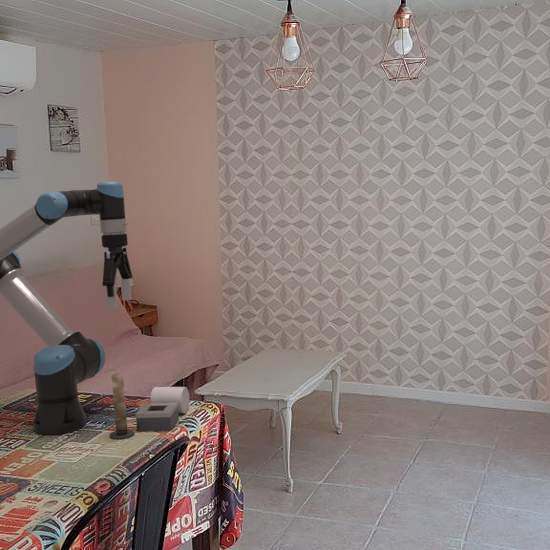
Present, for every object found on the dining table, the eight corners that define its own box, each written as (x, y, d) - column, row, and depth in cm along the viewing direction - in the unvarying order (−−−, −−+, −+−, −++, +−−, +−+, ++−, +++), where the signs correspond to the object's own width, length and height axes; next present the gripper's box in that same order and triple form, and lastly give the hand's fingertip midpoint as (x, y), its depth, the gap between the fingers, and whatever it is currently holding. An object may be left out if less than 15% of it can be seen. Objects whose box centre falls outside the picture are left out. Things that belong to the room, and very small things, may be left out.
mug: (182, 416, 227) (180, 391, 226) (150, 416, 229) (149, 391, 228) (194, 404, 239) (192, 380, 238) (164, 404, 241) (162, 380, 240)
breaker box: (136, 431, 215) (135, 413, 215) (146, 420, 225) (144, 403, 224) (171, 430, 214) (169, 413, 214) (178, 419, 224) (177, 402, 223)
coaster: (106, 439, 209) (106, 438, 209) (113, 431, 216) (113, 429, 216) (130, 439, 209) (130, 437, 209) (137, 430, 216) (137, 429, 216)
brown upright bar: (114, 435, 211) (109, 376, 209) (118, 431, 214) (113, 373, 212) (125, 435, 211) (121, 376, 209) (129, 431, 214) (124, 373, 212)
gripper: (112, 236, 212) (118, 310, 214) (138, 230, 236) (143, 296, 239) (87, 237, 212) (93, 311, 215) (115, 231, 237) (120, 297, 240)
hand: (119, 303), depth 227 cm, fingers open, 13 cm apart
